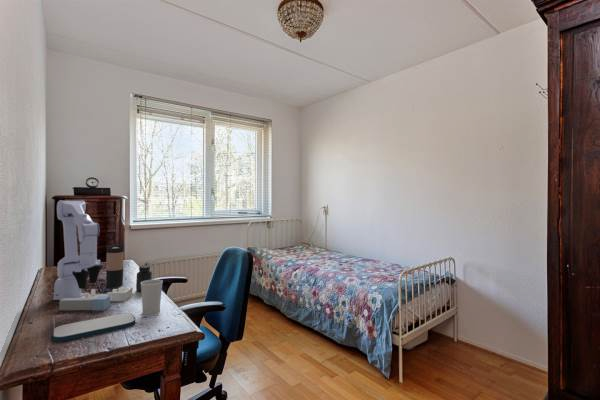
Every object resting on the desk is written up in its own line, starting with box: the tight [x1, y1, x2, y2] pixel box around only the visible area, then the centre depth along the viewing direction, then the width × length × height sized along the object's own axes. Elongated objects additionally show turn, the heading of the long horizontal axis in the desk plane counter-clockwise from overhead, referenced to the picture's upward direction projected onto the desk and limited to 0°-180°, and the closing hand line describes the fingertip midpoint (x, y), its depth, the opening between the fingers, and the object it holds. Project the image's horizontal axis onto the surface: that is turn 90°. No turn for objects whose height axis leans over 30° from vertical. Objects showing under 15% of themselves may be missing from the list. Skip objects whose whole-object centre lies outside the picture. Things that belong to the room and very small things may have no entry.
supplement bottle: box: [135, 265, 153, 293], centre depth 150 cm, size 7×7×12 cm
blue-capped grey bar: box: [58, 296, 111, 311], centre depth 125 cm, size 18×4×4 cm, turn 96°
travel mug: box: [105, 245, 125, 289], centre depth 157 cm, size 8×8×20 cm
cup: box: [140, 279, 164, 316], centre depth 123 cm, size 8×8×12 cm
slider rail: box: [79, 287, 134, 302], centre depth 138 cm, size 21×9×4 cm, turn 96°
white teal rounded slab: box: [52, 312, 136, 343], centre depth 106 cm, size 24×12×2 cm, turn 128°
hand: (87, 285), depth 125 cm, fingers open, 7 cm apart
